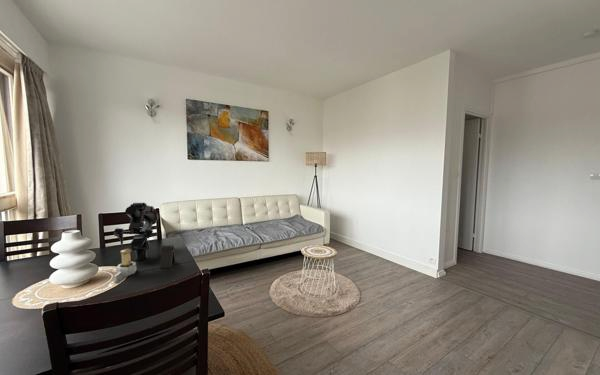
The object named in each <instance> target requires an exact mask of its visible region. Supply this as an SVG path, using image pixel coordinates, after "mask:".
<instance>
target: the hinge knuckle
mask: <svg viewBox="0 0 600 375" xmlns="http://www.w3.org/2000/svg"><path fill="white" fill-rule="evenodd" d="M115 269H116V274H115V275H113V282H115V283H117V282H118V281H120V280H121V279H122V278H123V277H128V276H130V275H134V274H135V273H136V272H137V262H136V261H131V266H129V267H122V263H119V264H118V265H117V266H116V268H115Z"/></svg>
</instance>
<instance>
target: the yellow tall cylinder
mask: <svg viewBox="0 0 600 375" xmlns="http://www.w3.org/2000/svg"><path fill="white" fill-rule="evenodd" d="M119 252H120V253H119V254H120V255H121V264H122V267H129V266H131V262H132V261H131V252H132V248H124V249H121V250H120V251H119Z"/></svg>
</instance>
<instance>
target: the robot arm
mask: <svg viewBox="0 0 600 375" xmlns="http://www.w3.org/2000/svg"><path fill="white" fill-rule="evenodd" d="M146 213H147V214H146ZM125 214H126V215H127V216H128V217H129V218H130V222H129V225H128V230H124V228H115V229H114V232H113V234H114V237H116V238H118V239H119V241H120V246H121V248H123V246H124V235H134V236H133V237H132V240H131V242H130V247H131V248H130V249H131V252H132V251H135V258H134V259H133V260H134V261H133V262H136V261H144V260H147V259H148V257H149V254H147V253H148V252H147V250H150V249H151V245H150V242H149V241H148V239H150V238H152V237H153V232H154V230H153V229H152V227H153V226H154V225H155V224H157V223H158V221H159V218H160V217H159V213H158V211H157V210H155V207H154V206H153V205H148V204H147V203H145V202H133V203H132V204H130V205H129V206H128V207H126V208H125Z"/></svg>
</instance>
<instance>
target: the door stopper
mask: <svg viewBox="0 0 600 375" xmlns="http://www.w3.org/2000/svg"><path fill="white" fill-rule="evenodd" d="M160 251H161V252H160V253H161V254H160V261H159V262H160V263H159V264H160V265H159V269H172V267H173V266H174V265H175V264H176V263H177V258H176V254H175V246H174V244H172V245H162V246H161V249H160Z"/></svg>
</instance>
